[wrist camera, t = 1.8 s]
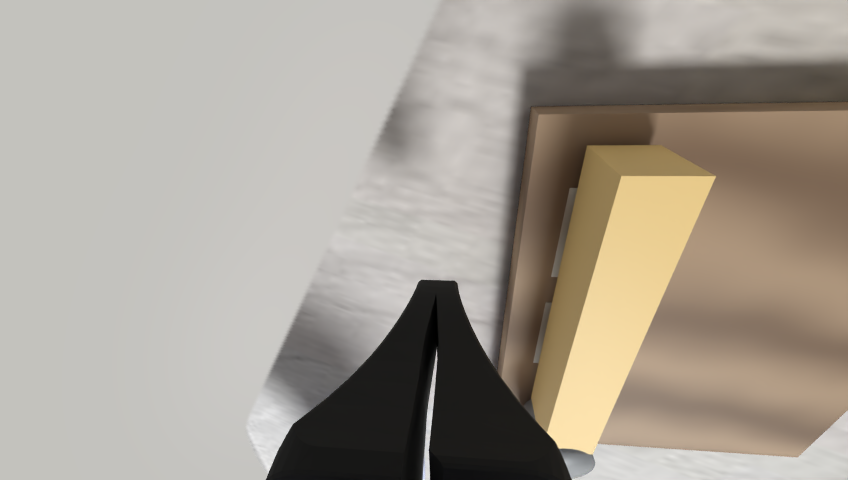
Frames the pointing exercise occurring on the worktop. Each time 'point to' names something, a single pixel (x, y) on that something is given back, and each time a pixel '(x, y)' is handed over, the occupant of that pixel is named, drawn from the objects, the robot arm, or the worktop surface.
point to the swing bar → (611, 286)
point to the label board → (708, 274)
